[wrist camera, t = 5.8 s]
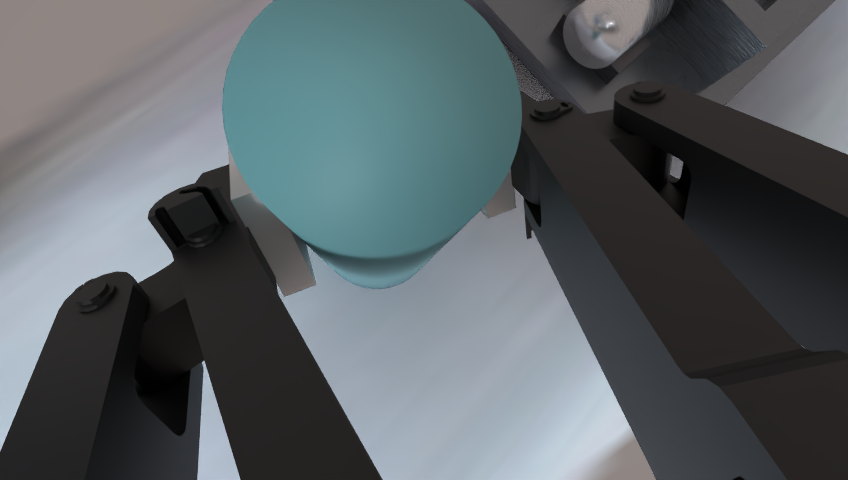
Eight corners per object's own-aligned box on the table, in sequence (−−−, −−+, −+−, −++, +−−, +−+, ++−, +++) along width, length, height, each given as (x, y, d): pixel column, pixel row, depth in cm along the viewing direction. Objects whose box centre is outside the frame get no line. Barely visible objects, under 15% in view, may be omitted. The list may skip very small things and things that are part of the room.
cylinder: (331, 299, 18) (248, 279, 6) (311, 189, 19) (201, -13, 7) (442, 276, 19) (551, 219, 7) (420, 170, 19) (486, -48, 8)
